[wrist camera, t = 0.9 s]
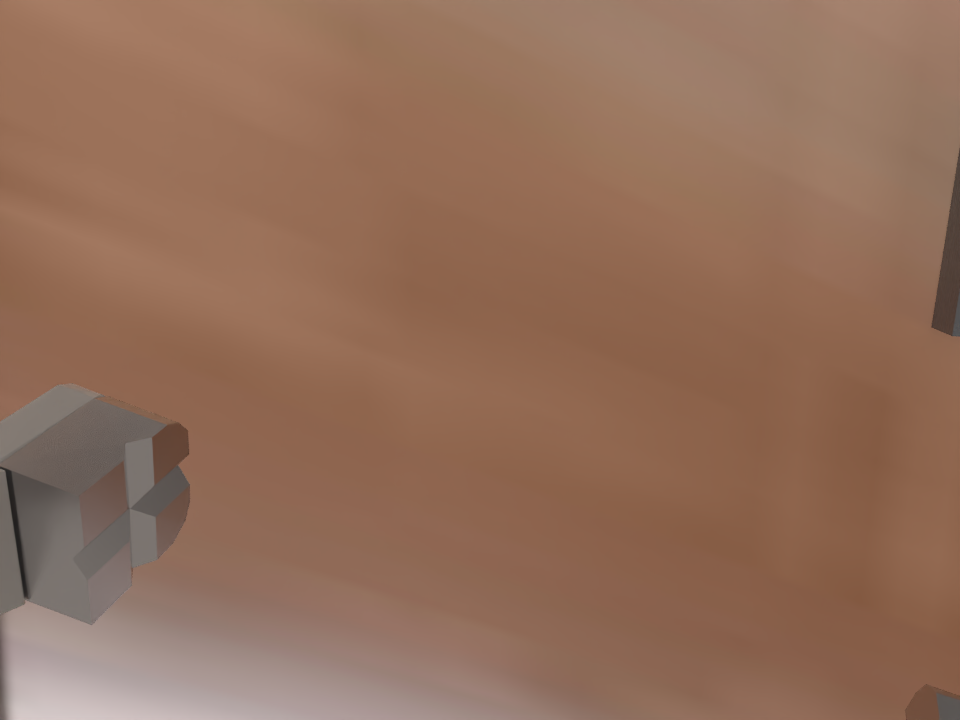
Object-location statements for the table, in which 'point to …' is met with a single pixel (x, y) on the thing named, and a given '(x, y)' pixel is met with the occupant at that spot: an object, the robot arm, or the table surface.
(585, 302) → the table surface
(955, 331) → the panel
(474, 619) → the table surface
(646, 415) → the table surface
